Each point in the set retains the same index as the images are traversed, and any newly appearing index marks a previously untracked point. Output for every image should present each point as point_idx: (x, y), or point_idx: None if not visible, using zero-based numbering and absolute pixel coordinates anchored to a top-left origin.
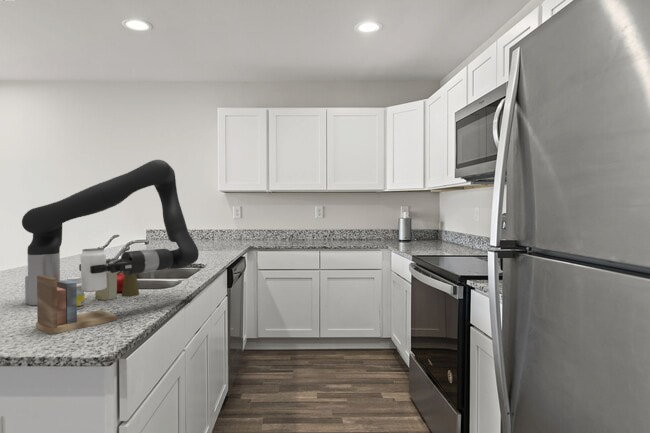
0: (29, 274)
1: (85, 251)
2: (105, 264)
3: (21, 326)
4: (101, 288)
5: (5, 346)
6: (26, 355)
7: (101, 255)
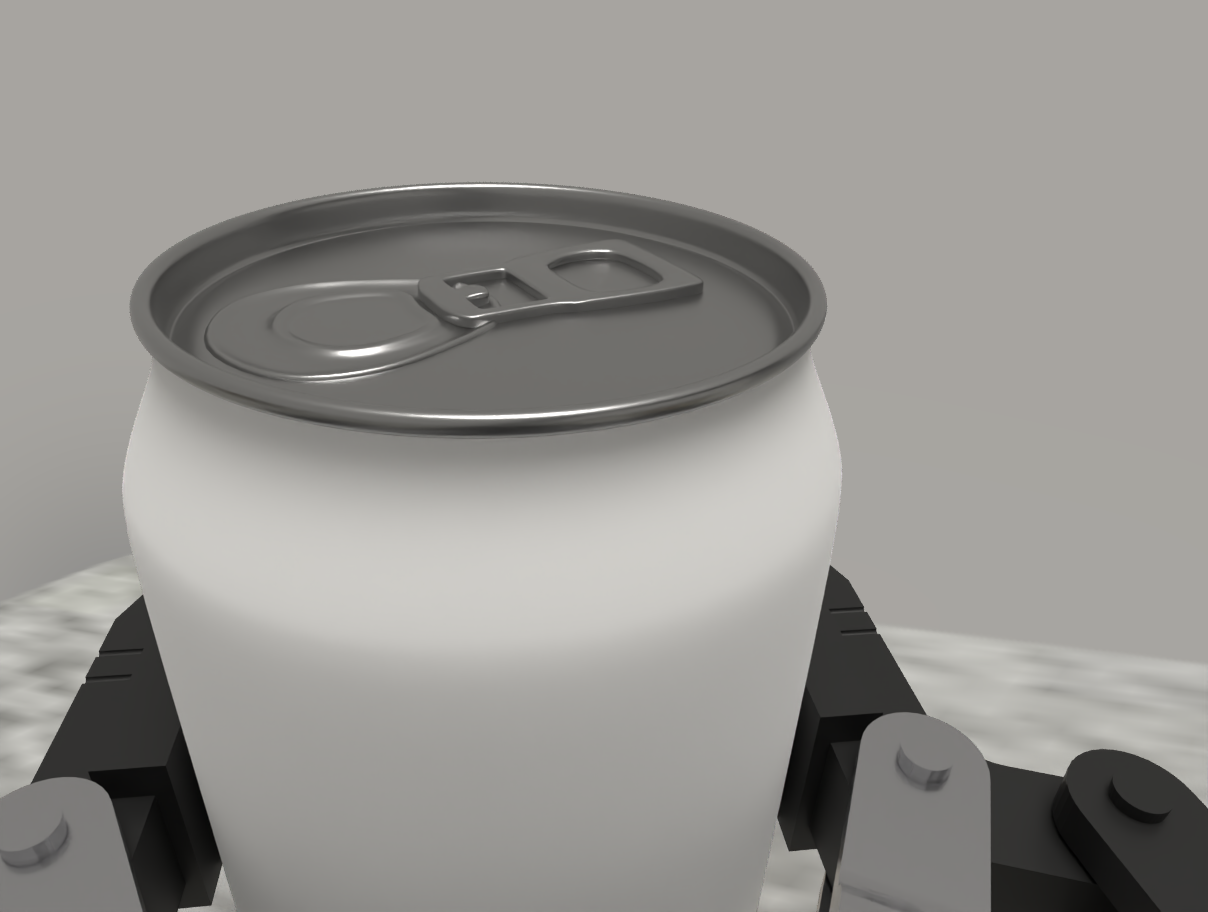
0: None
1: (400, 217)
2: (51, 782)
3: None
4: None
5: None
6: (63, 589)
7: (128, 502)
